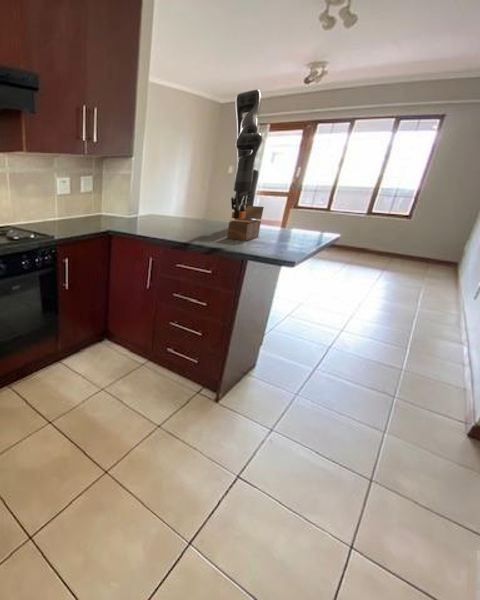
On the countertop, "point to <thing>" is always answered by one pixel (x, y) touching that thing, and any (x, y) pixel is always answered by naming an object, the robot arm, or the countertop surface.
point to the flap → (254, 212)
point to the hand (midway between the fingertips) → (238, 217)
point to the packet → (240, 215)
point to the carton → (243, 229)
